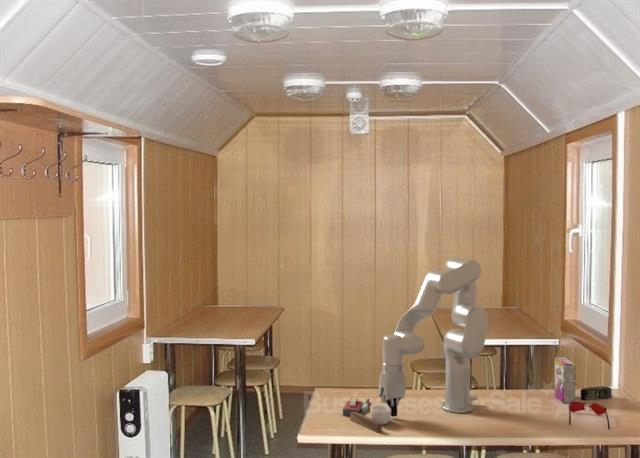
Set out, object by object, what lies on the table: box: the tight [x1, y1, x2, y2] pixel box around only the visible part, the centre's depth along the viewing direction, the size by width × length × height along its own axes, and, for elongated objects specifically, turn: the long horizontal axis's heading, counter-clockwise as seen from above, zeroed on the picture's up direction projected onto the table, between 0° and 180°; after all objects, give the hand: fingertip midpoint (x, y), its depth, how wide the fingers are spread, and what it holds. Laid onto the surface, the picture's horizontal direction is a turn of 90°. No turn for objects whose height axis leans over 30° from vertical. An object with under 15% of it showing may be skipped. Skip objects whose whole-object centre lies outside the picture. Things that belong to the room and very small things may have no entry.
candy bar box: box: [554, 356, 576, 405], centre depth 272 cm, size 11×5×16 cm, turn 179°
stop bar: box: [349, 411, 383, 434], centre depth 242 cm, size 2×16×3 cm, turn 35°
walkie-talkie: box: [342, 398, 370, 417], centre depth 261 cm, size 9×4×20 cm
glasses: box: [568, 400, 611, 430], centre depth 248 cm, size 14×16×5 cm
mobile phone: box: [580, 385, 613, 401], centre depth 273 cm, size 5×3×15 cm
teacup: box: [370, 404, 392, 426], centre depth 247 cm, size 10×8×5 cm
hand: (392, 415), depth 250 cm, fingers closed
